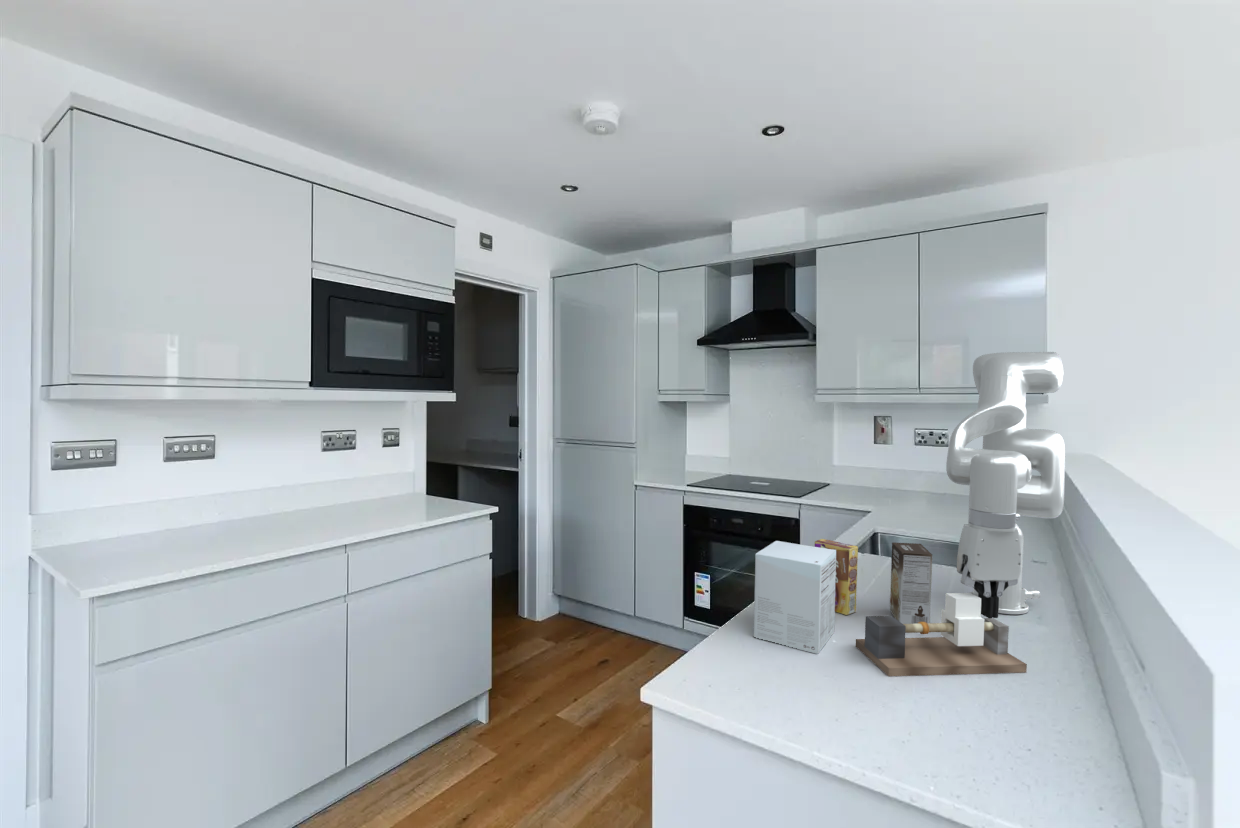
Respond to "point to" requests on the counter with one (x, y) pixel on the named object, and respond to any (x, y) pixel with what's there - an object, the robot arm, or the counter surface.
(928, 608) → the coffee box
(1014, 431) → the robot arm
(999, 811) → the counter surface
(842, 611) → the candy box
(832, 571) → the supplement box
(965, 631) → the stepped white block
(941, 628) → the wooden board rod assembly
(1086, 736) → the counter surface
